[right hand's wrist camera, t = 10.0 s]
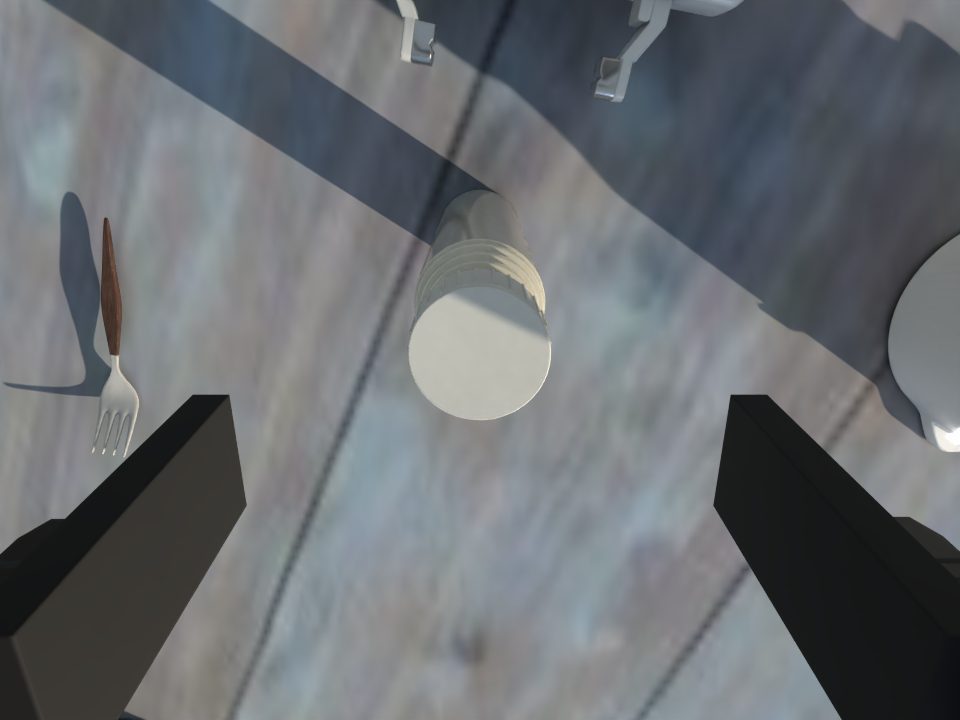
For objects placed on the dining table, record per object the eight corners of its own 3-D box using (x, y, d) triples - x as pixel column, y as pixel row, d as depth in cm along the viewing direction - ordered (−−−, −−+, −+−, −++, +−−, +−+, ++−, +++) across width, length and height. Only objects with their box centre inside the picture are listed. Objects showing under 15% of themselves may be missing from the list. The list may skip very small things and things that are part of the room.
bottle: (474, 171, 38) (468, 235, 18) (536, 225, 40) (595, 342, 19) (423, 235, 40) (364, 360, 19) (484, 285, 41) (488, 453, 21)
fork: (132, 219, 39) (115, 225, 37) (141, 443, 45) (127, 457, 43) (89, 213, 39) (70, 218, 37) (104, 438, 45) (88, 452, 43)
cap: (471, 238, 20) (470, 252, 18) (573, 324, 21) (583, 348, 19) (387, 339, 21) (376, 363, 19) (487, 415, 22) (487, 447, 20)
